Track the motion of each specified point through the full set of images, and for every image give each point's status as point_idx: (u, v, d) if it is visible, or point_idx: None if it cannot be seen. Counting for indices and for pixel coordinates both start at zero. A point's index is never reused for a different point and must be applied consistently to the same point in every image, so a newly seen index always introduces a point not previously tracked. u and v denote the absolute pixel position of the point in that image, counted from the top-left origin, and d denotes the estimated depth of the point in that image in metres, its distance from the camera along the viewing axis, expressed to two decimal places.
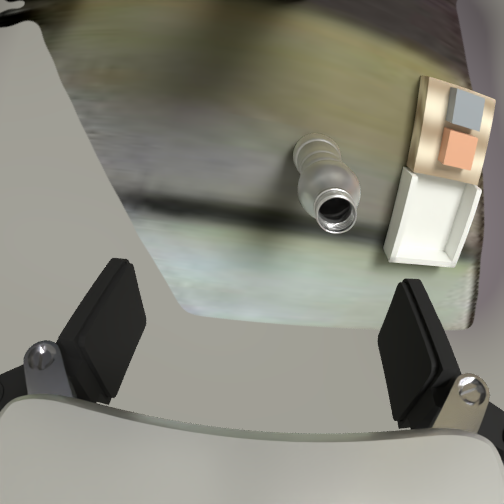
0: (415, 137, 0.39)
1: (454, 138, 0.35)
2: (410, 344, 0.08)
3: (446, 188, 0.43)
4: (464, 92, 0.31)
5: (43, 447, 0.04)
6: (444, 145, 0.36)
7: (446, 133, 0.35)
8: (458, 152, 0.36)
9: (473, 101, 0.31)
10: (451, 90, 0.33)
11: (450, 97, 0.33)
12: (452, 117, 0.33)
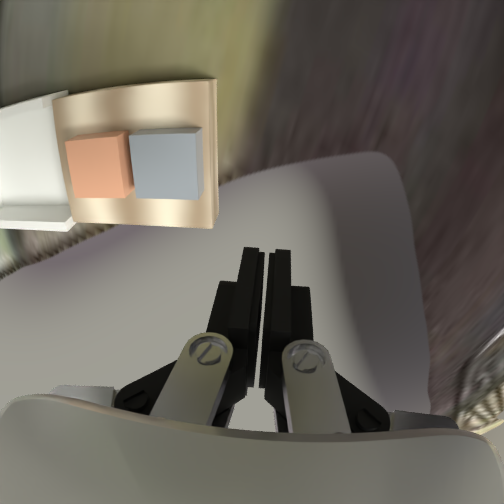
0: None
1: (106, 149, 0.21)
2: None
3: (61, 174, 0.28)
4: (192, 152, 0.21)
5: (43, 447, 0.04)
6: (95, 135, 0.22)
7: (114, 133, 0.22)
8: (89, 164, 0.22)
9: (183, 174, 0.22)
10: (194, 128, 0.22)
11: (180, 128, 0.22)
12: (140, 134, 0.21)
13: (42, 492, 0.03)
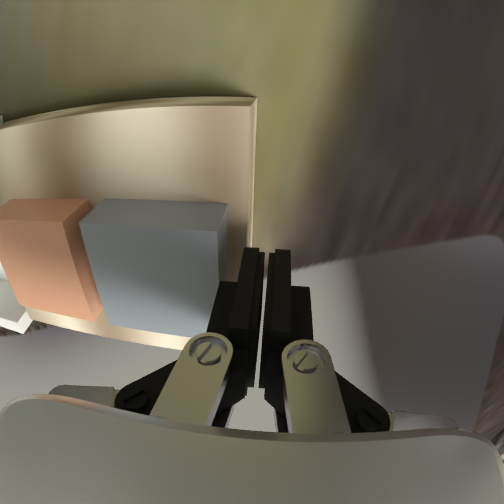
0: (49, 115, 0.11)
1: (49, 243, 0.11)
2: None
3: None
4: (211, 266, 0.11)
5: (43, 447, 0.04)
6: (30, 210, 0.11)
7: (61, 209, 0.11)
8: (27, 262, 0.11)
9: (192, 302, 0.11)
10: (211, 207, 0.11)
11: (182, 206, 0.11)
12: (101, 220, 0.10)
13: (42, 492, 0.03)
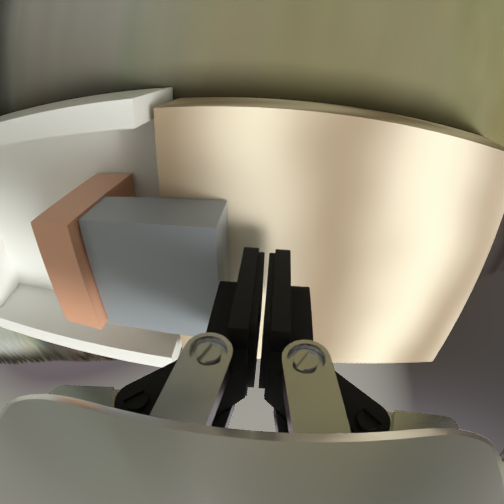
0: (296, 104, 0.11)
1: None
2: None
3: None
4: (210, 263, 0.10)
5: (43, 447, 0.04)
6: (81, 194, 0.12)
7: (58, 214, 0.10)
8: None
9: (192, 300, 0.11)
10: (211, 204, 0.11)
11: (181, 203, 0.11)
12: (100, 217, 0.10)
13: (42, 492, 0.03)
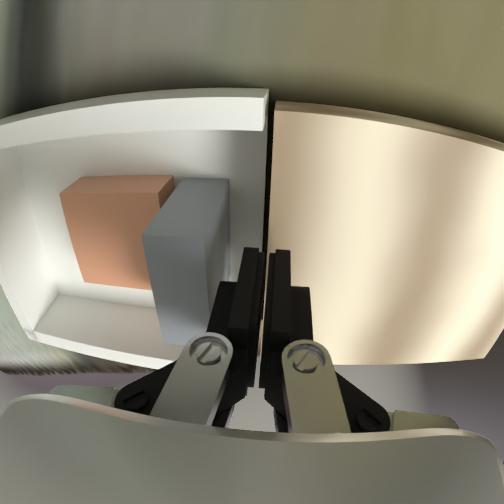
0: (400, 120, 0.10)
1: None
2: None
3: None
4: (150, 266, 0.10)
5: (43, 447, 0.04)
6: (114, 182, 0.13)
7: (82, 184, 0.13)
8: None
9: None
10: (195, 229, 0.10)
11: (201, 214, 0.11)
12: (184, 184, 0.13)
13: (42, 492, 0.03)
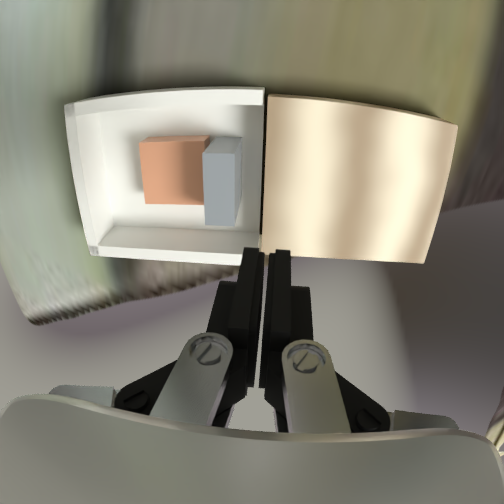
0: (336, 100, 0.20)
1: None
2: None
3: None
4: (203, 172, 0.20)
5: (43, 447, 0.04)
6: (174, 138, 0.23)
7: (152, 139, 0.23)
8: None
9: None
10: (229, 151, 0.19)
11: (230, 147, 0.20)
12: (217, 138, 0.23)
13: (42, 492, 0.03)
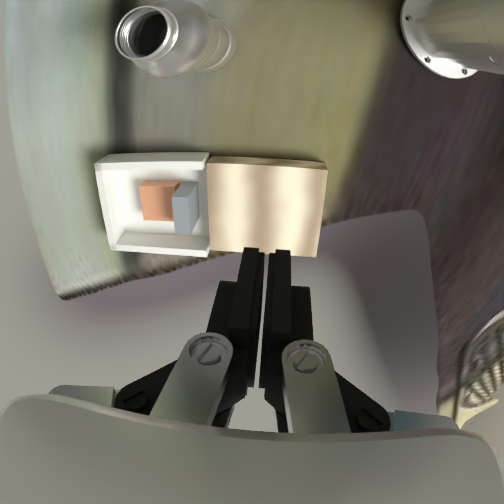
0: (248, 160, 0.37)
1: None
2: None
3: None
4: (173, 206, 0.37)
5: (43, 447, 0.04)
6: (159, 182, 0.40)
7: (146, 183, 0.40)
8: None
9: None
10: (185, 195, 0.37)
11: (187, 192, 0.38)
12: (183, 183, 0.40)
13: (42, 492, 0.03)
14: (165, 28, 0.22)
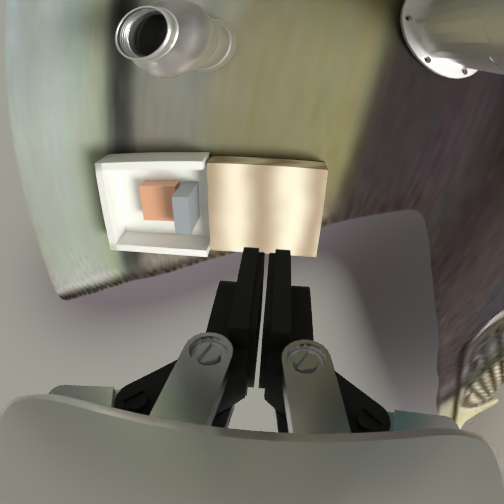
0: (249, 160, 0.37)
1: None
2: None
3: None
4: (173, 206, 0.37)
5: (43, 447, 0.04)
6: (159, 182, 0.40)
7: (146, 183, 0.40)
8: None
9: None
10: (186, 195, 0.37)
11: (187, 191, 0.38)
12: (183, 183, 0.40)
13: (42, 492, 0.03)
14: (165, 28, 0.22)
